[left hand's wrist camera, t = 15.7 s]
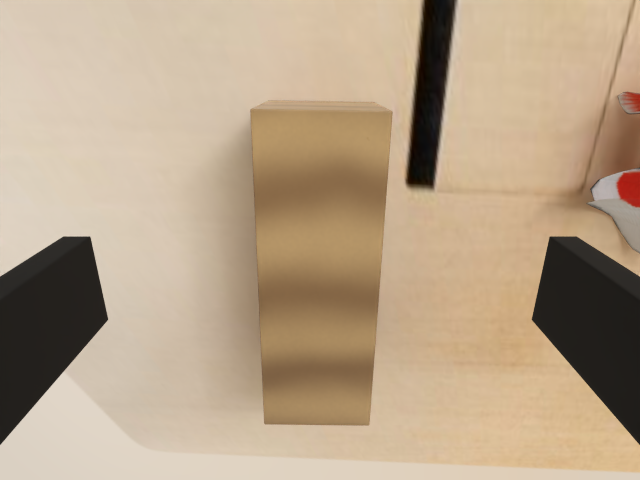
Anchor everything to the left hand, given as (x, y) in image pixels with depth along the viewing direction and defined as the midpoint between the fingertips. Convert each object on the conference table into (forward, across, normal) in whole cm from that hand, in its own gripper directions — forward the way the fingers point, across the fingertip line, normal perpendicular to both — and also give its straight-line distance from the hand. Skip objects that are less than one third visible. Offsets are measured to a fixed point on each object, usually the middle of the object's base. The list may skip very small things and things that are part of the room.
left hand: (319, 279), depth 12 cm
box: (+24, 0, -9) cm, 26 cm away
